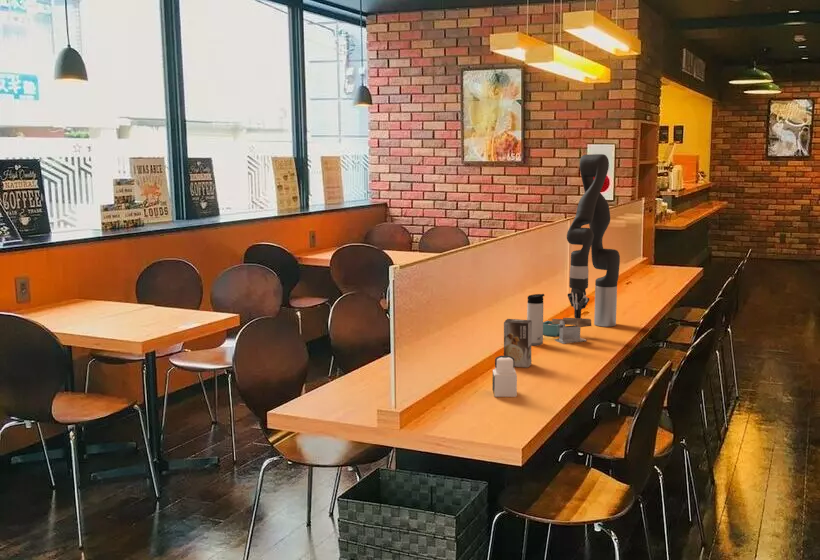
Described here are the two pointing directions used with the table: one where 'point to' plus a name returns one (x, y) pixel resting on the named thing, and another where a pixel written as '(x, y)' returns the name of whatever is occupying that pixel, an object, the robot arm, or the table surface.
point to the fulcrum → (569, 334)
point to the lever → (574, 321)
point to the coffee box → (518, 341)
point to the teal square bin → (551, 329)
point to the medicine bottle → (504, 377)
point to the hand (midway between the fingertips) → (577, 318)
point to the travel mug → (536, 318)
